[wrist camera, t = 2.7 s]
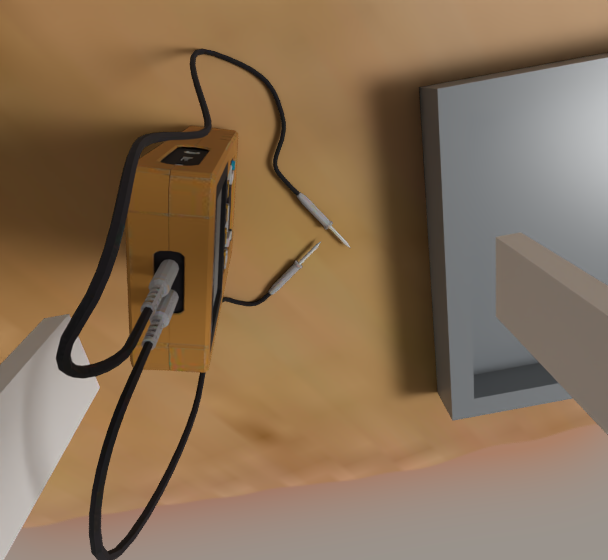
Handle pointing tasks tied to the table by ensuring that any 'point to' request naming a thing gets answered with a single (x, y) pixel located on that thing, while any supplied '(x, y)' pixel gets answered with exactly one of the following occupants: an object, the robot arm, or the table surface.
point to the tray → (509, 213)
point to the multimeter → (170, 270)
